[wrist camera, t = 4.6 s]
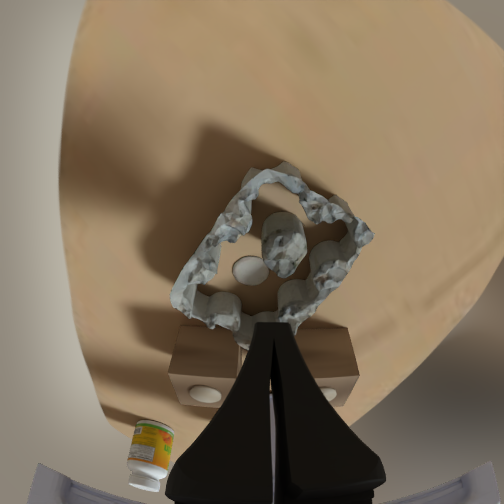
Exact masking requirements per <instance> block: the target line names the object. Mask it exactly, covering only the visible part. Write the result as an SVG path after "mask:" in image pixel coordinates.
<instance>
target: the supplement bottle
mask: <svg viewBox="0 0 504 504" xmlns="http://www.w3.org/2000/svg"><path fill="white" fill-rule="evenodd" d="M173 438H174V431H173V430H172V429H171V428H170V427H168V426H166V425H164V424H162V423H159V422H156V421H151V420H140V421H138V422H137V424H136V427H135V431H134V435H133V439H132V444H131V448H130V452H129V456H128V461H127V466H128V468H129V469H130V470H131V471H132V474H131V475H130V476H129V482H128V483H129V484H130V485H132V486H134V487H137V488H140V489H144V490H148V491H154V492H158V491H159V488H160V482H159V479H161V478H164V477H166V475H167V472H168V466H169V460H170V454H171V449H172V443H173Z"/></svg>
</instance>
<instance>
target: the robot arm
mask: <svg viewBox="0 0 504 504" xmlns="http://www.w3.org/2000/svg"><path fill="white" fill-rule="evenodd" d="M270 379H271V389H272V394H270ZM385 481H386V474H385V471H384V467H383V464H382V462H381V460H380V458H379V456H377V454H375V453H374V452H373V451H372V450H371V449H370V448H369V447H368V446H366V444H364V443H363V442H362V441H361V440H360V439H359V438H358V436H357V435H356V434H355V433H354V432H353V431H352V430H351V429H350V428H349V427H348V425H347V424H346V423H345V422H344V421H343V420H342V418H341V417H340V416H339V415H338V414H337V412H336V411H335V410H334V408H333V407H332V406H331V404H330V403H329V401H328V400H327V399H326V397H325V396H324V394H323V393H322V391H321V389H320V388H319V386H318V385H317V383H316V381H315V379H314V378H313V376H312V374H311V372H310V370H309V369H308V367H307V365H306V363H305V360H304V358H303V356H302V354H301V352H300V350H299V347H298V345H297V343H296V340H295V337H294V335H293V332H292V328H291V324H289V323H288V322H257V323H255V325H254V332H253V337H252V340H251V344H250V347H249V350H248V353H247V355H246V358H245V360H244V363H243V365H242V368H241V370H240V372H239V374H238V376H237V378H236V380H235V382H234V384H233V386H232V388H231V390H230V392H229V393H228V395H227V397H226V399H225V400H224V402H223V403H222V405H221V407H220V408H219V410H218V411H217V413H216V414H215V416H214V417H213V418H212V420H211V421H210V423H209V424H208V425H207V426H206V428H205V429H204V430H203V431H202V433H201V434H200V435H199V436H198V438H197V439H196V440H195V441H194V442H193V443H192V445H191V446H190V447H189V448H188V449H187V450H186V451H185V452H184V453H183V454H182V455H181V456H180V457H179V458H178V459H177V461H176V463H175V464H174V466H173V468H172V470H171V472H170V474H169V477H168V480H167V484H166V491H165V495H166V496H167V497H168V498H169V499H171V500H173V501H174V502H175V504H372V498H373V497H374V491H373V489H375V488H377V487H378V486H380V485H382V484H383V483H384V482H385ZM500 502H501V500H500V495H499V490H498V485H497V481H496V477H495V473H494V469H493V465H492V461H488V462H486V463H484V464H482V465H480V466H478V467H476V468H474V469H472V470H470V471H468V472H466V473H465V474H463V475H462V476H460V477H458V478H456V479H453V480H451V481H448V482H446V483H443V484H441V485H438V486H436V487H433V488H430V489H427V490H425V491H422V492H419V493H416V494H413V495H409V496H407V497H403V498H400V499H396V500H392V501H389V502H385V503H380V504H499V503H500ZM27 504H145V503H141V502H137V501H133V500H130V499H126V498H123V497H119V496H116V495H112V494H110V493H106V492H103V491H101V490H97V489H95V488H92V487H89V486H87V485H84V484H81V483H79V482H76V481H74V480H71V479H70V478H69V477H67V476H65V475H63V474H61V473H59V472H57V471H55V470H53V469H51V468H49V467H47V466H44V465H43V464H41V463H38V465H37V468H36V472H35V475H34V478H33V482H32V485H31V489H30V493H29V497H28V501H27Z"/></svg>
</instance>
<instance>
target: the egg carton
mask: <svg viewBox="0 0 504 504" xmlns="http://www.w3.org/2000/svg"><path fill="white" fill-rule="evenodd" d="M277 181H279V182H280V183H282V184H283V185H284V186H285V187H286V188H287V189H288V190H290V191H291V192H292V193H298V195H299V199H300V201H299V203H300V204H301V205H302V207H303V208H304V211H305V213H306V215H307V217H308V219H309V220H311V221H312V222H314V223H315V224H319V223H321V221H326V222H327V223H333V222H334V221H336V220H337V219H342V220H343V221H344V222H345V224H346V226H347V229H348V232H347V234H346V235H345V237H344V238H343V239H341V240H340V241H339V242H336V241H332V240H329V241H323V242H320V243H319V244H317V245H316V246H314V248H313V249H312V250H311V252H310V255H309V263H310V268H311V272H310V274H309V276H308V278H307V279H306V280H301V279H293V280H289V281H287V282H285V283H283V284H282V285H281V286H280V288H279V290H278V310H277V311H275V312H269V311H266V312H260V313H258V314H256V315H254V316H249V315H247V314H245V313H243V312H241V309H242V302H241V300H240V299H239V297H237V296H236V295H234V294H232V293H229V292H217V293H215V294H213V295H212V296H210V297H208V296H206V295H204V294H202V293H200V292H199V291H198V290H197V284H204V285H205V284H206V282H208V281H210V280H211V279H212V278H213V277H214V275H215V274H217V268H218V263H219V258H220V252H221V242H222V241H228V242H230V243H235V242H236V241H237V239H238V238H239V237H240V236H241V235H245V234H246V233H248V232H249V230H250V228H251V225H252V216H251V204H252V199H256V198H257V197H258V189H259V188H260V186H261V185H262V184H265V183H274V182H277ZM302 224H303V223H302V222H301V221H300V220H299V219H298V218H297V216H296V215H294V214H292V213H289V212H277V213H274V214H271V215H270V216H269V217H267V218H266V220H265V221H264V223H263V227H262V238H261V243H262V258H263V259H262V258H260V257H257V256H246V257H243V258H241V259H239V260H238V261H237V262H236V263H235V264H234V266H233V274H234V277H235V279H236V280H237V281H238V282H240V283H242V284H244V285H258V284H260V283H262V282H263V281H265V280H266V279H267V277H268V274H269V269H271V270H272V271H274V272H275V273H276V274H277V276H279V277H281V278H286V277H288V276H290V275H292V274H293V273H294V272H295V270H296V268H297V266H298V264H299V263H300V262H301V260H302V259H303V258H304V256H305V255H306V253H307V243H306V238H305V234H304V230H303V226H302ZM374 234H375V233H373V232H372V231H371V230H370V229H369V228H368V226H367V225H366V223H365V222H363V221H362V220H361V219H359V218H358V217H355V216H354V214H353V213H352V211H351V210H350V208H349V206H348V203H346V202H345V201H344V200H342V199H341V198H339V197H338V196H337V195H334V196H332V197H331V198H330V199H328V200H327V199H326V198H324V197H323V196H321V195H319V194H317V193H315V192H313V191H310V190H309V188H308V187H307V185H306V184H305V183H304V182H303V181H302V179H301V175H300V172H299V170H298V169H297V168H295V167H294V166H292V165H291V164H289V163H288V162H285V161H283V162H282V163H281V164H280V165H279V166H277V167H275V168H272V169H266V170H259V169H255V168H250V170H249V171H248V173H247V174H246V176H245V177H244V179H243V181H242V184H241V190H240V191H239V192H238V193H237V194H236V195H235V196H234V197H233V198H232V200H231V201H230V202H229V204H228V205H227V207H226V209H225V211H224V212H223V213H221V214H220V216H219V217H218V219H217V221H216V223H215V225H214V226H213V228H212V230H211V232H210V233H209V234H208V235H207V236H206V237H205V238H204V239H203V241H202V242H201V244H200V245H199V247H198V248H197V250H196V251H195V253H194V254H193V255H192V257H191V258H190V259H189V261H188V262H187V263H186V265H185V266H184V267H183V269H182V271H181V273H180V275H179V277H178V278H177V280H176V282H175V284H174V286H173V288H172V291H171V293H170V300H171V303H172V306H173V308H175V309H177V310H179V311H181V312H182V313H183V314H184V315H186V316H187V317H188V318H189V319H191V317H194V318H197V319H199V320H201V321H203V322H204V323H205V324H206V325H207V327H208V328H209V329H214V328H215V324H218V325H220V326H222V327H225V328H227V329H230V330H231V331H233V334H232V335H233V337H234V340H235V342H236V343H237V344H238V345H240V346H241V347H242V348H244V349H247V350H249V347H250V344H251V340H252V337H253V332H254V325H255V323H257V322H288V323H289V324H291V328H292V332H293V335H294V336H295V335H296V332H297V329H298V326H299V325H300V324H301V323H302V322H303V321H305V320H306V319H307V318H309V317H311V316H312V315H313V314H314V313H315V311H316V309H317V307H318V306H319V305H320V304H321V303H322V302H323V301H324V300H325V299H326V297H327V296H328V295H329V294H330V293H331V292H332V291H334V290H335V289H336V288H338V287H339V286H340V284H341V282H342V281H343V279H344V278H345V276H346V275H347V273H348V272H349V270H350V269H351V267H352V265H353V262H354V261H355V260H356V259H357V258H358V256H359V254H360V251H361V248H362V247H363V246H364V245H366V244H369V243H370V242H371V240H372V239H373V237H374Z"/></svg>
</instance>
